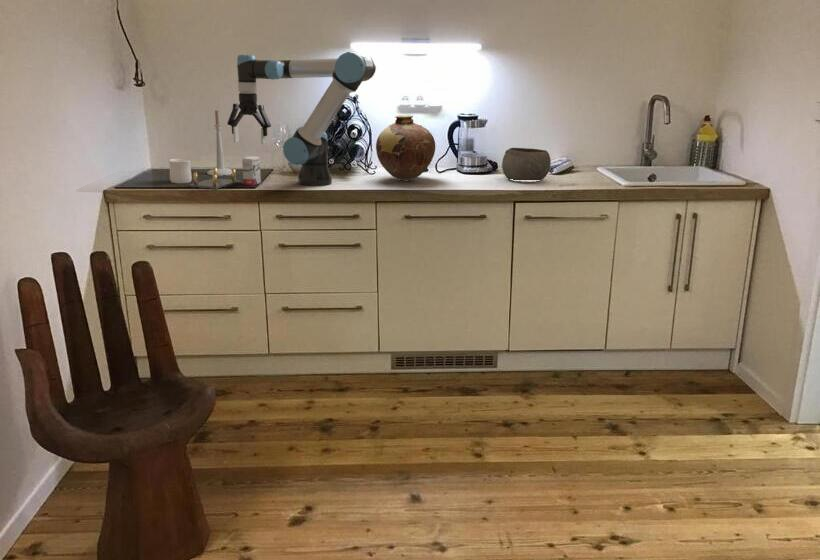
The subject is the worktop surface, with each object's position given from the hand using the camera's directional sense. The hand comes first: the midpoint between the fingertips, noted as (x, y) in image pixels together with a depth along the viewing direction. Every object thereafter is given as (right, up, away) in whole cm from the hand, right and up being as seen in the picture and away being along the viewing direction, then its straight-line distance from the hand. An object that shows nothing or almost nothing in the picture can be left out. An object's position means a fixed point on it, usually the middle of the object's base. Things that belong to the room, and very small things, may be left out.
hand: (250, 142), depth 303 cm
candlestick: (-21, -9, +30) cm, 38 cm away
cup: (-33, -16, +7) cm, 37 cm away
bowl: (+125, -12, +30) cm, 130 cm away
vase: (+68, -14, +22) cm, 73 cm away
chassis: (-16, -18, +1) cm, 24 cm away
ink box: (0, -17, +6) cm, 18 cm away
